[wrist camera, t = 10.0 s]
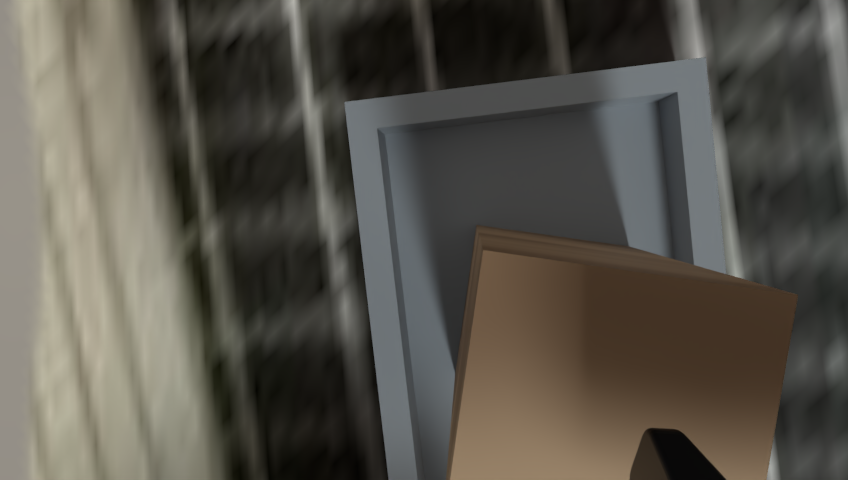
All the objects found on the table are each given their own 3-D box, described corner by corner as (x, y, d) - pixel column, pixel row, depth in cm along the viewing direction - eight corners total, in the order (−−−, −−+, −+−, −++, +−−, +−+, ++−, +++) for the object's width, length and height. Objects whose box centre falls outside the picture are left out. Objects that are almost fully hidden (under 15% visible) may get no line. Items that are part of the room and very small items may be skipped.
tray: (722, 534, 22) (754, 577, 20) (410, 559, 23) (403, 603, 20) (678, 73, 22) (705, 57, 19) (358, 113, 22) (344, 102, 20)
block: (605, 396, 22) (745, 598, 11) (455, 373, 22) (440, 547, 11) (629, 246, 21) (797, 294, 10) (476, 224, 22) (483, 250, 11)
